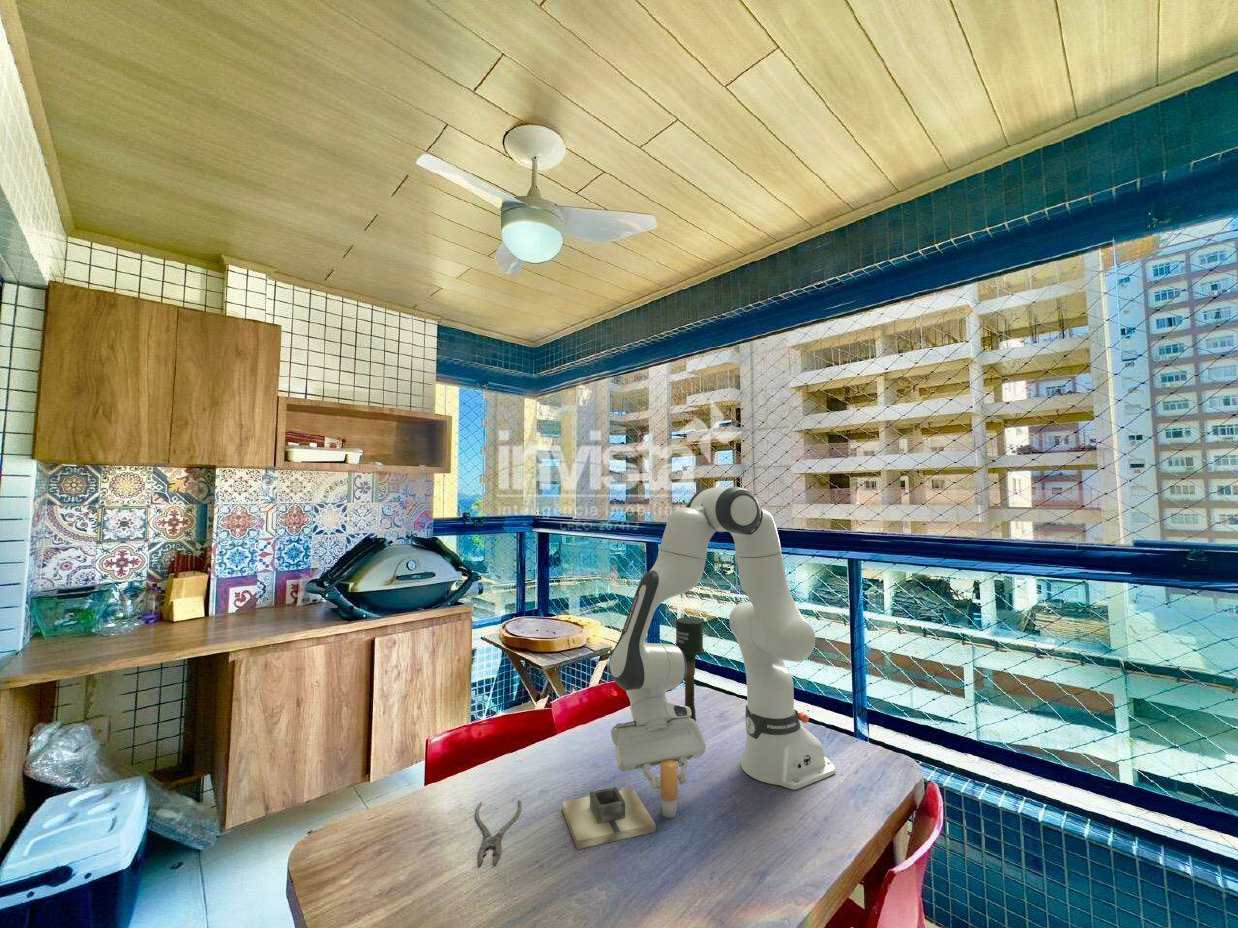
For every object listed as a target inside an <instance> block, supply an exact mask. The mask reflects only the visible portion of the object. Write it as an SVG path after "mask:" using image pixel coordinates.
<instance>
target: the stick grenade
mask: <svg viewBox="0 0 1238 928" xmlns="http://www.w3.org/2000/svg"><path fill="white" fill-rule="evenodd" d="M703 622H704V621H703V620H702V619H700V618H697V617H691V616H690V617H689V616H687V617H686V616H685V617H679V618H677V619H676V621H675V645H676V646H678V647H679V648H680V649H681V651H682V652H683V654H684V656H685V659H686V663H687V673H686V676H685V678H684V706H687V707H689V708H690V710H691V713H692V714H691V717H690V718H691V719H693V720H694V721H695V722H696V723H697V717H696V708H695V674H696V656H700V655H703V654H704V653H705V648H704V636H703V635H704V627H703V626H704V623H703Z"/></svg>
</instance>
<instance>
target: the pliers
mask: <svg viewBox="0 0 1238 928" xmlns="http://www.w3.org/2000/svg"><path fill="white" fill-rule="evenodd" d="M517 803H518V808H517V811H516V813H515V815H514V816H513V817H512V818H511V819H510V820H508V821H507V823H506V824H505V825H504V826H502V827H501V829H499V830H498V832H497V833H496V834H494V835H491V832H490V830H489V829H488V827H487V826H486V824H484V823H483V821H482V820H481V818H480V810H481V808H482V806H483V802H482V801H480V802H479V803H478V805H477V806H476V809H475V812H474V813H475V814H474V815H475V816H474V818H475V822H476V823H477V826H478V827H479V828H480V830H481V832H482V833H483V834H482V835H483V841H482V843H481V845H480V848H479V850H478V853H477V860H478V868H481V866H482V864H483V862H484V858H485V857H487V851H490V849H492V850H494V851H493V852H492V855H493V865H494V866H493V867H496V866H497V864H498V862H499V860H500V858H501V856H502V855H503V854H502V853H503V849H502V840H503V836H504V835H505V833H506V832H507V830H509V828H510V827H511V826H512V825H513V824H514V823H515V822H516V821H517V820H518V818H519V817H520V815H521V812H522V809H523V808H522V807H523V804H522V803H523V802H522V800H521V799H519V800H518V802H517Z"/></svg>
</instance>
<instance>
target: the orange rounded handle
mask: <svg viewBox="0 0 1238 928" xmlns="http://www.w3.org/2000/svg"><path fill="white" fill-rule="evenodd" d="M659 767H660V768H659V769H660V771H659V772H660V773H659V775H660V777H659V782H660V785H661V787H660V788H659V789H660V799H661V814H662V816H663V817H665V818H666V819H667V818H668V819H672V818H674V817H676V815H677V800H678V784H679V780H678V774H679V773H678V767H679V765H678V762H675V761H673V760H664V761H662V762H661V763H660V765H659Z"/></svg>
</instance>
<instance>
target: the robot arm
mask: <svg viewBox="0 0 1238 928" xmlns="http://www.w3.org/2000/svg"><path fill="white" fill-rule="evenodd" d="M665 525H666V526H665V529H664V532H663V534H662V539H661V543H660V545H659V551H658V552H659V553H658V555H657V559H656V561H654V562H655V563H654V564H653V566H652V567H651V569H650V570H649V571H647V572H646V573H644V575H643V576H642V577H641V578H640V581H639V584H638V586H637V587H636V590H635V594H634V595H633V599H632V602H631V605H630V608H629V610H628V613H627V617H626V619H625V622H624V625H623V628H622V631H621V633H620V636H619V638H618V640H617V642H616V644H615V647H614V649H613V650H612V652H611V654H610V657H609V662H608V663H609V665H608V667H609V668H608V669H609V674H610V675H611V677H612V680H613V681H614V682H615V684H616V685H617V686H619V688H621V689H622V690H624V691H625V692H626V696H627V697H628V699H629V702H630V703H629V704H630V706H629V707H630V712H631V718H632V720H631V721H627V722H619V723H616V724H615V726H613V727H612V729H611V731H610V735H611V741H612V743H613V744H614V749H615V752H614V753H615V760H616V766H617V768H618V770H620V772H627V771H633V770H638V769H641V771H642V772H641V773H642V774H643V776H644V777H645V778H646V779H647V781H649V783H650V787H651V790H652V791H654V790H658V789H660V787H661V785H660V777H659V776H657V777H656V776H654V774H653V772H652V771H651V769H652V767H655V766H660V763H661V762H662V761H664V760H673V761H675V762H676V763H677V765H678V767H681V768H680V772H679V773H678V784H679V785H686V784H687V783H688V782H689V781H688V779H689V778H688V776H687V769H688V768H687V767H688V760H693V759H699V758H701V757H702V756H703V755H704V753H705V752H706V748H707V747H706V746H707V745H706V743H705V739H704V737H703V734H702V731H701V729H700V727H699V725H698V723H697V721H696V722H695V721H694V720H693V719H691V718H690V717H691V714H692V713H691V710H690V708H689V707H687V706H685V705H682V704H681V705H680V704H677V703H676V704H675V703H672V702H669V701H668V699H667V696H666V693H667V692H668V691H671V690H674V689H676V688H677V687H679V686H680V685H681V684H682V683H683V682H684V681H685V676H686V673H687V663H686V659H685V656H684V654H683V652H682V651H681V649H680V648H679V647H678V646H676V644H670V643H669V644H668V643H660V642H659V643H657V642H656V643H652V642H651V643H650V642H645V640H646V638H647V635H648V631H649V629H650V625H651V622H652V619H653V617H654V614H655V612H656V610H657V608H658V607H659V606H660V605H661V604H662V603H664V602H665V601H666V600H668V599H671V598H673V597H675V596H679V595H682V594H685V593H687V592H689V591H692V589H694V588H695V587H696V586H697V585H698V584H699V583H700V581H701V580H702V577H703V575H704V570H705V566H706V559H707V554H708V553H707V552H708V546H709V544H710V540H711V539H712V537H713V536H714V534H715V533H716V532H717V533H718V532H719V533H724V532H725V533H726V532H728V533H730V535H731V536H732V538H733V542H734V550H735V557H736V564H737V570H738V578H739V584H740V587H741V589H742V591H743V592H744V593H745V594H746V596H747V597H748V598H749V601H743V602H740V603H738V604H736V605H735V606H734V607H733V609H732V610H731V612H730V614H729V619H728V621H729V622H728V623H729V624H728V625H729V627H730V630H731V632H732V634H733V635H734V637H735V640H736V641H737V644H738V646H739V649H740V655H741V656H742V661H743V664H744V670H745V675H746V676H745V677H746V695H747V696H746V697H747V701H746V703H747V704H746V706H745V729H746V736H745V744H744V749H743V755H742V759H741V761H740V766H741V768H742V770H743V771H744V772H745V774H747V775H748V776H750V777H751V778H752V779H755V780H757V781H760V782H763V783H767V784H769V785H778V786H781V787H784V788H787V789H790V790H799V789H801V788H803V787H806V786H808V785H811V784H813V783H815V782H818V781H820V780H823V779H826V778H828V777H830V776H832V775H834V774H836V767H835V765H834V764H833V762H832V761H831V760H830V759H829V758H828V757H826V756H825V752H824V747H823V745H822V743H821V741H820V740H819V739H818V738H817V737H816V736H814V735H813V733H811V732H810V731H809V730H808V729H806V728H805V727H804V726H803V725H801V723H800V721H801V722H802V723H804V724H807V723H808V722H809V721H810V720H809V719H810V717H809V715H808V714H806V713H804V712H802V711H800V712H799V711H798V710H797V709H796V708H795V705H794V703H795V697H794V696H795V695H794V692H795V691H794V690H795V689H794V680H793V677H792V675H791V673H790V671H789V670H788V668H787V666H786V664H785V662H784V661H788V662H796V663H801V662H803V661H806V660H807V659H808V658H809V657H810V656H811V655H812V653H813V651H814V649H815V646H816V635H815V631H814V629H813V626H811V624H810V623H809V622H808V621H807V620H806V618H805V617H803V615H802V614H801V612H800V610H799V608H798V605H797V604H796V602H795V600H794V597H793V596H792V593H791V590H790V587H789V584H788V582H787V578H786V572H785V571H786V570H785V567H784V566H785V565H784V560H783V553H782V552H783V551H782V546H781V541H780V537H779V534H778V529H777V526H776V523H775V520H774V518H773V515H772V514H771V513H770V512H768V510H766V509H762V507H761V506H760V503H759V500H758V499H757V497H756V496H755V494H754V493H752V492H751V491H749V490H748V489H746V488H743V487H739V486H725V485H720V486H716V487H715V486H714V487H705V488H702V489H700V490H698V491H697V492H696V493H694V494H693V496H692V497H691V498H690V500H689V502H688V504H687V505H686V506H685V507H679V508H677V509H675V510H673V511H672V512H671V513H670V515H669V517H668V520H667V523H666V524H665Z"/></svg>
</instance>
